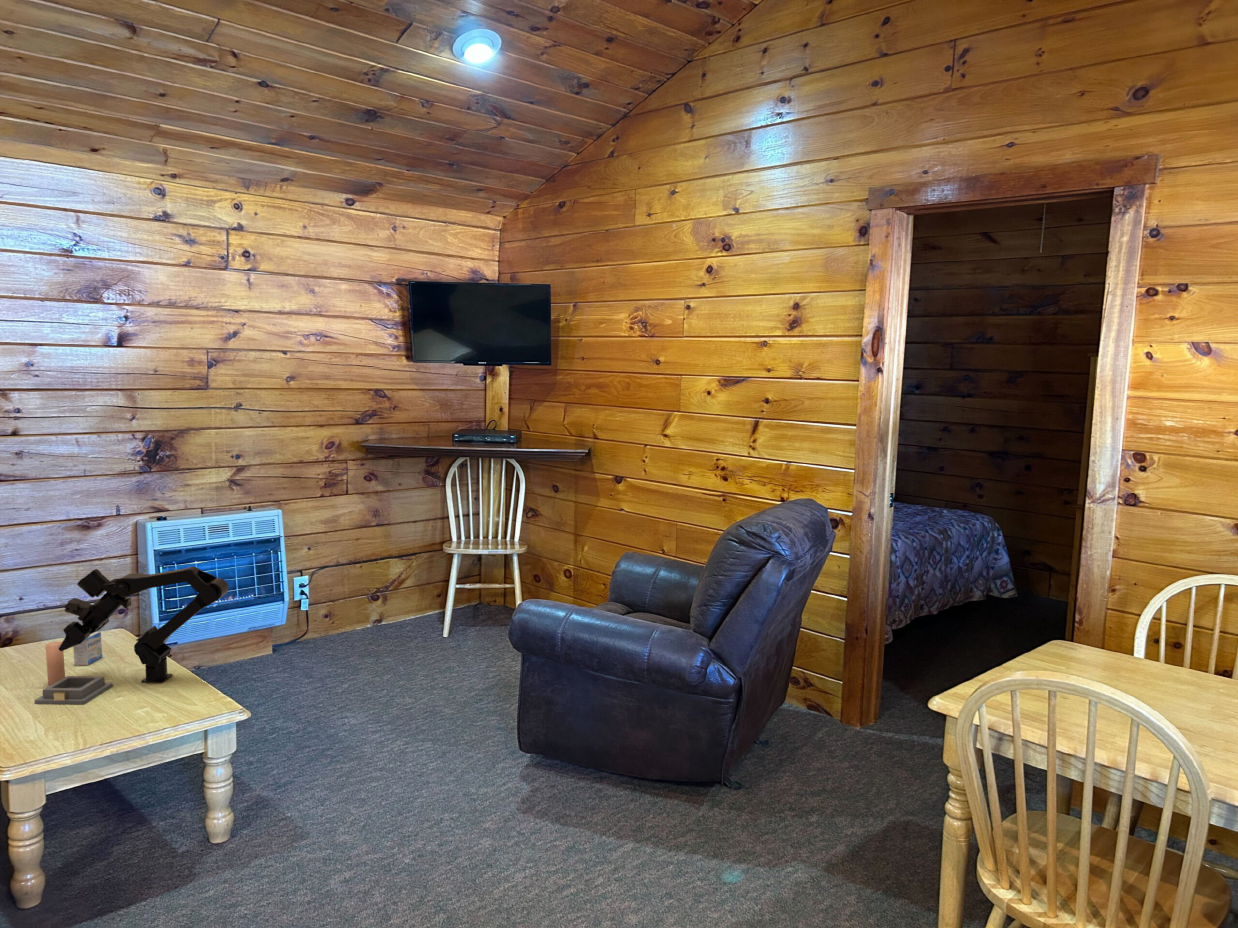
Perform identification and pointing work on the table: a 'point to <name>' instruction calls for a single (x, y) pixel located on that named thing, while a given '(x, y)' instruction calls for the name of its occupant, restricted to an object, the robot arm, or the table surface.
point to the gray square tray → (74, 690)
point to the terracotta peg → (54, 662)
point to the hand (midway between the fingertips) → (66, 645)
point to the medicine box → (88, 650)
